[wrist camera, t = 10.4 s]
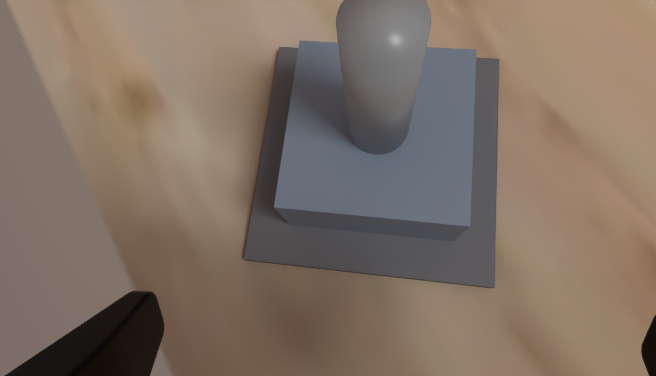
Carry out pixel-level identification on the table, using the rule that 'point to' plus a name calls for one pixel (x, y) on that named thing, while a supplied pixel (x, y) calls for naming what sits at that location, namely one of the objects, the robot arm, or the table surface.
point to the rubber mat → (369, 248)
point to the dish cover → (380, 128)
